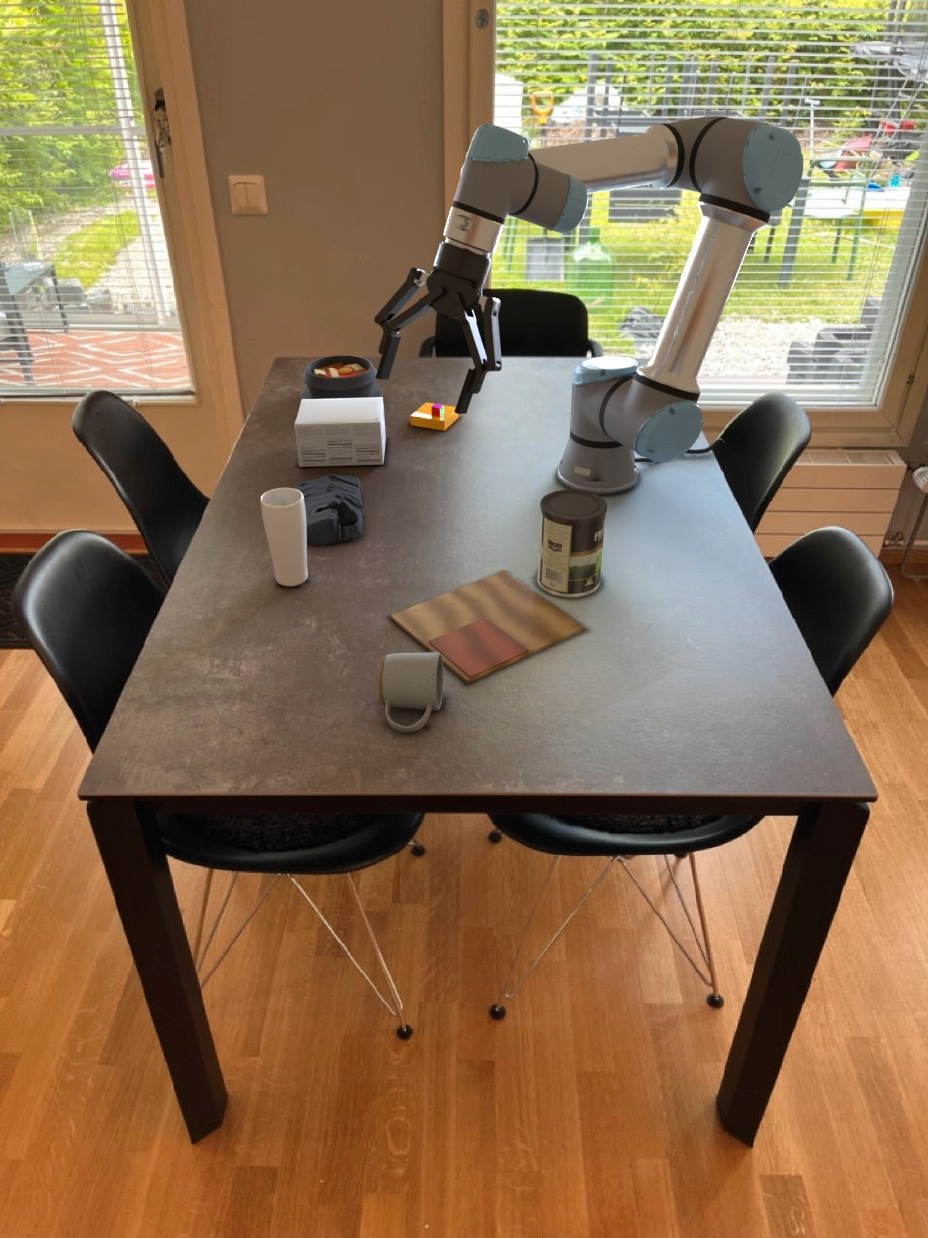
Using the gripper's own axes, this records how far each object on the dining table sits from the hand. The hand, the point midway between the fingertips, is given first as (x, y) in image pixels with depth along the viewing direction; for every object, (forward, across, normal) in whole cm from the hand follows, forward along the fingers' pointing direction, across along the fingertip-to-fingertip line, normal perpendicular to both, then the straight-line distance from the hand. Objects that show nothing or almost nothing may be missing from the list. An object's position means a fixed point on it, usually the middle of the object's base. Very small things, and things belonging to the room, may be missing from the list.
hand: (420, 395), depth 141 cm
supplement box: (+25, -32, +43) cm, 59 cm away
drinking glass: (+36, -12, 0) cm, 38 cm away
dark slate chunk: (+31, -20, +20) cm, 42 cm away
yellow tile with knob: (+16, -24, +64) cm, 70 cm away
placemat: (+28, +21, +2) cm, 35 cm away
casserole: (+21, -48, +64) cm, 83 cm away
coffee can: (+22, +27, +18) cm, 39 cm away
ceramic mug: (+36, +22, -19) cm, 46 cm away
